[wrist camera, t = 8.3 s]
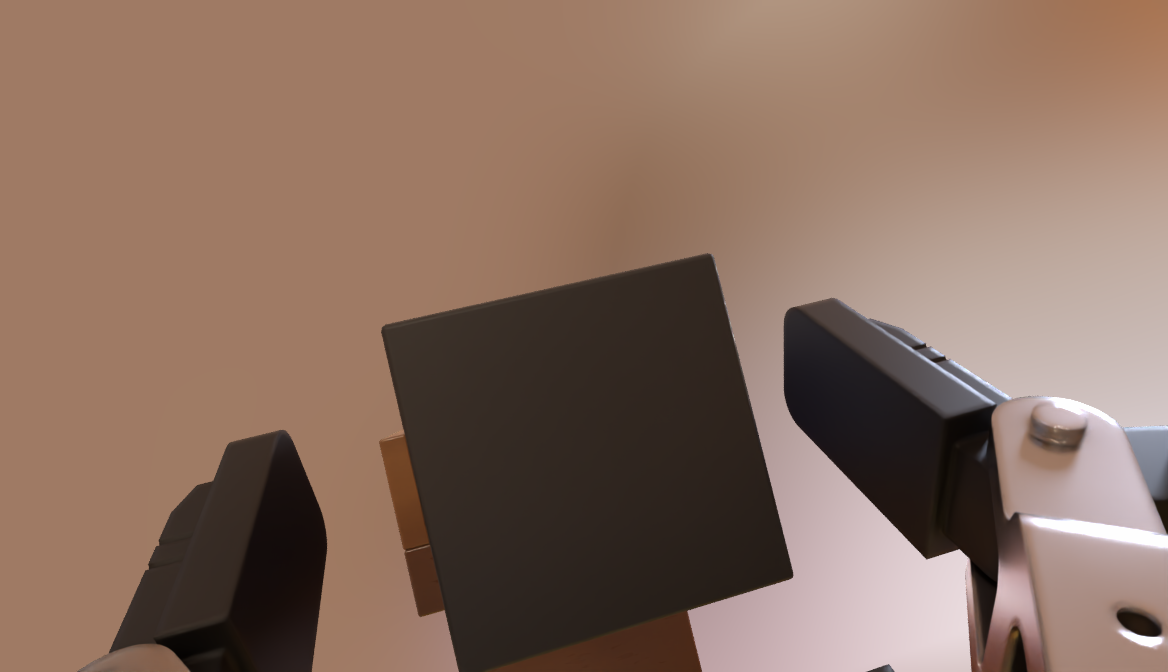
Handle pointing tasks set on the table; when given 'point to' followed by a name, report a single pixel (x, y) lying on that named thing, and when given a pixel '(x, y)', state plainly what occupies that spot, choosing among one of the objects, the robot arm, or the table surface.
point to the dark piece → (585, 459)
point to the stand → (593, 668)
